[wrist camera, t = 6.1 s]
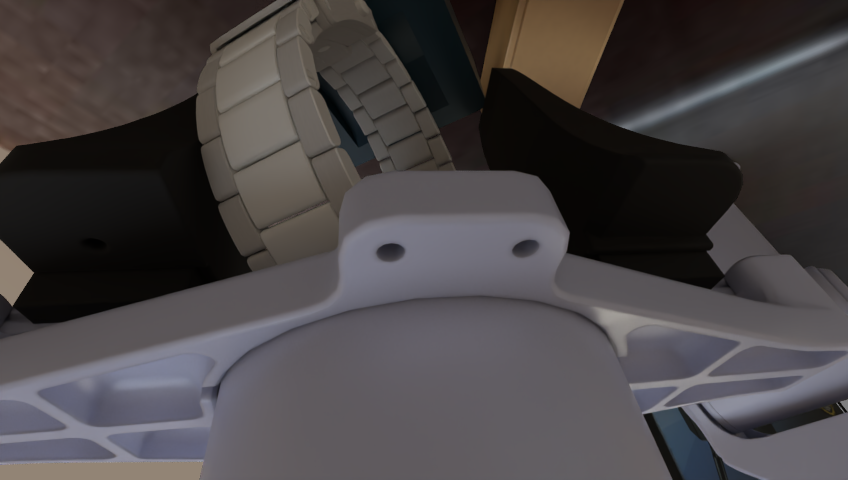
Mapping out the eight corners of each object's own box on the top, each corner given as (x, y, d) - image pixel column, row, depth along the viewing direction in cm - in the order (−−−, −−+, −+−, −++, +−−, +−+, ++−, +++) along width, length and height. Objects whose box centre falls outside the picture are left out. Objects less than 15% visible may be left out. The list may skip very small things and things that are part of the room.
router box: (784, 324, 51) (1014, 613, 33) (704, 363, 58) (859, 619, 40) (579, 264, 36) (799, 733, 18) (504, 326, 43) (611, 709, 25)
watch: (373, 158, 18) (364, 416, 11) (233, -31, 12) (15, 240, 5) (493, 102, 16) (580, 364, 9) (394, -144, 11) (413, 18, 3)
